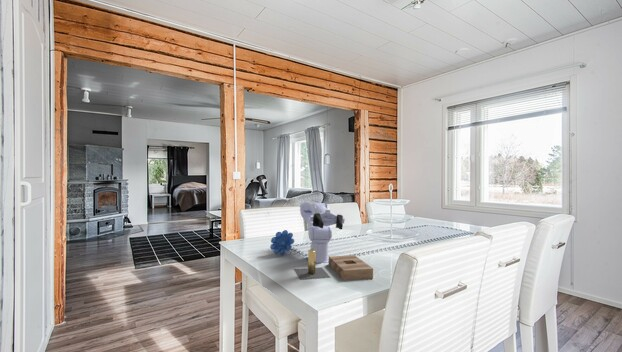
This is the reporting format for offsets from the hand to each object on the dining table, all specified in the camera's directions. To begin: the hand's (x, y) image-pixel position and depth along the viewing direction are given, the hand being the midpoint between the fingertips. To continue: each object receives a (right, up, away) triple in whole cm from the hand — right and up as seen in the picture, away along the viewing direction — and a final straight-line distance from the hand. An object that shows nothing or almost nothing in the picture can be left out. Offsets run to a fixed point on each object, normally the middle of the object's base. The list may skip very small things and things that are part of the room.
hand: (332, 226), depth 111 cm
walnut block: (+8, -20, +7) cm, 22 cm away
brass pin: (-8, -19, +2) cm, 21 cm away
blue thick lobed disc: (-22, -19, +30) cm, 42 cm away
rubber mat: (-8, -19, +2) cm, 21 cm away
